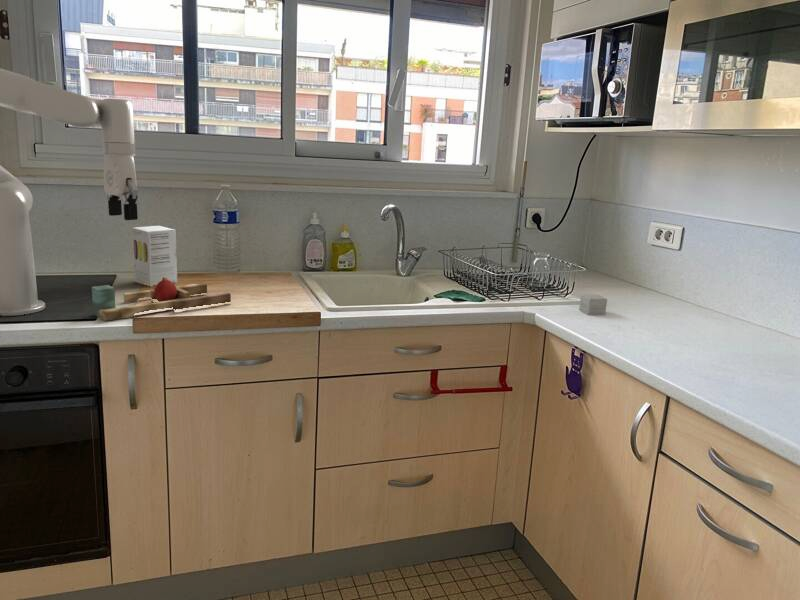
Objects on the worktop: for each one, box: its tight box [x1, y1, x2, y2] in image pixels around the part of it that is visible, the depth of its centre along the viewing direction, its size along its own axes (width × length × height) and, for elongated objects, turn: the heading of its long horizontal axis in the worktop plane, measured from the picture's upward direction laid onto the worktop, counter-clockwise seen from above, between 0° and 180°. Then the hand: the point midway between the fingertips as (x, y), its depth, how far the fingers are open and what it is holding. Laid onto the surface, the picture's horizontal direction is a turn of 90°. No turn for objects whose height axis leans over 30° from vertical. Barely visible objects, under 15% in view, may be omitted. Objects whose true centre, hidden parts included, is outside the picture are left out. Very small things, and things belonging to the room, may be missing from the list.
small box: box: [579, 293, 608, 316], centre depth 188 cm, size 6×6×5 cm
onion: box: [153, 277, 177, 302], centre depth 174 cm, size 6×6×8 cm
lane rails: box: [150, 283, 232, 310], centre depth 178 cm, size 16×14×3 cm
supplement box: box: [132, 225, 178, 285], centre depth 198 cm, size 10×9×17 cm
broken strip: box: [123, 283, 198, 304], centre depth 183 cm, size 21×1×2 cm, turn 135°
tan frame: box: [91, 284, 191, 322], centre depth 168 cm, size 22×10×7 cm, turn 135°
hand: (123, 217), depth 169 cm, fingers open, 9 cm apart
